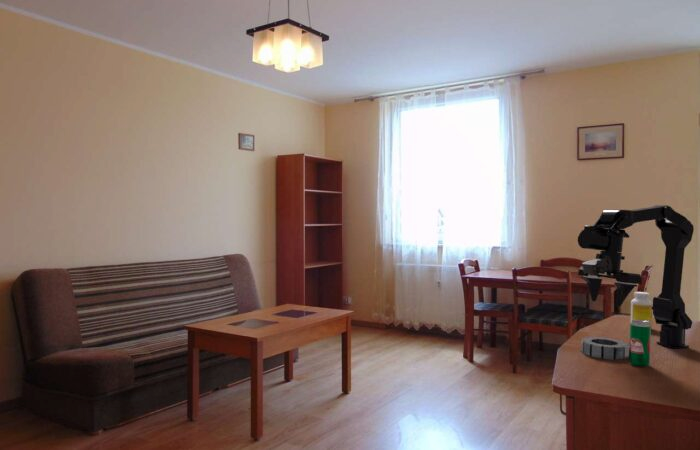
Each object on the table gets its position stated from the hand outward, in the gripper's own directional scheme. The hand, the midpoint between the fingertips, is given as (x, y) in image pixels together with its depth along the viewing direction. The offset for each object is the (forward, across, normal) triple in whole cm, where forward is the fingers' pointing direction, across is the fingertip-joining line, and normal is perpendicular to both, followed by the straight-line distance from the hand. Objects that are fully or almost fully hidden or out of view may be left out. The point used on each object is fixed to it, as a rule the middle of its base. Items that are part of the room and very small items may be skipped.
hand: (605, 303), depth 155 cm
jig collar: (+14, +2, 0) cm, 15 cm away
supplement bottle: (+11, -22, +40) cm, 47 cm away
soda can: (+15, +13, 0) cm, 20 cm away
